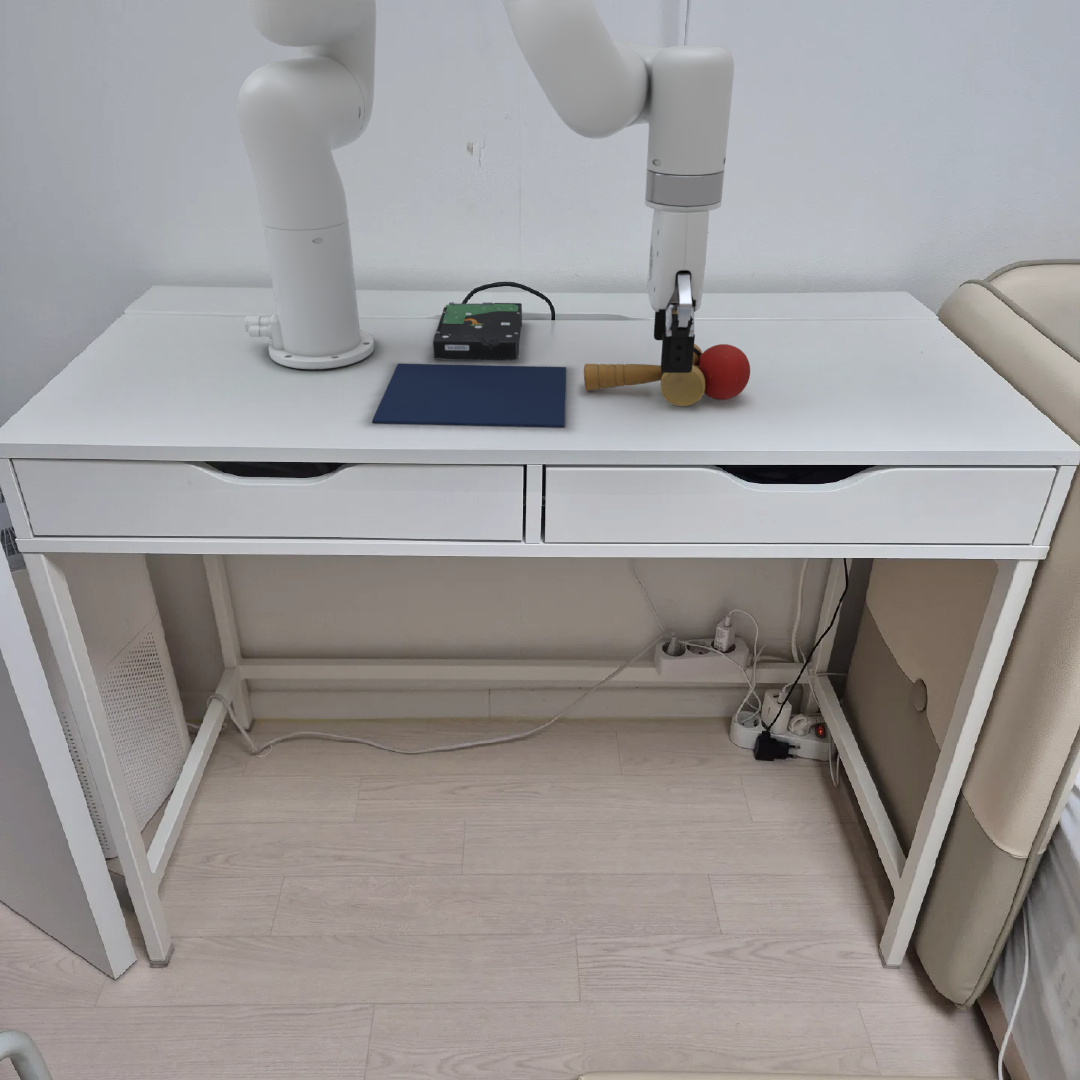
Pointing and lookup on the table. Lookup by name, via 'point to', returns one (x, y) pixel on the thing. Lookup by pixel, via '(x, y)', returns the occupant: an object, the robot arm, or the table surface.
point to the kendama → (681, 376)
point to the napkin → (474, 395)
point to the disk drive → (479, 332)
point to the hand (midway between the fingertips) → (671, 354)
